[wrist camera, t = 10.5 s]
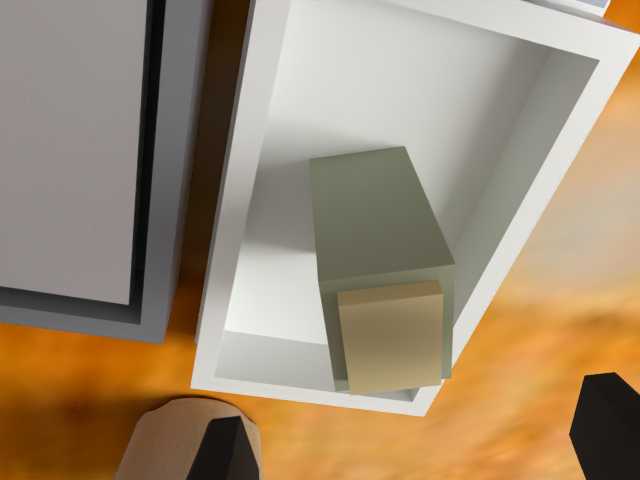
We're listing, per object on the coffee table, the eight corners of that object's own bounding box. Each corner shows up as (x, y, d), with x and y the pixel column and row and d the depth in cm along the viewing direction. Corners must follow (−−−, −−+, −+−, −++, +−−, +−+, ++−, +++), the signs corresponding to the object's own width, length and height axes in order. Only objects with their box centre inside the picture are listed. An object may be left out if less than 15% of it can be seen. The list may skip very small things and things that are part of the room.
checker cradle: (237, -177, 12) (220, -193, 10) (177, 289, 21) (158, 357, 18) (-202, -318, 11) (-386, -390, 8) (-77, 249, 19) (-144, 317, 16)
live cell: (404, 146, 17) (461, 278, 11) (407, 243, 19) (456, 392, 14) (309, 158, 17) (319, 295, 12) (323, 254, 20) (337, 407, 14)
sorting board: (770, -325, 11) (992, -417, 8) (412, 366, 24) (434, 452, 20) (337, -524, 10) (366, -764, 6) (195, 336, 22) (177, 424, 19)
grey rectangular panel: (162, -129, 11) (154, -129, 11) (134, 289, 18) (128, 305, 18) (-167, -227, 10) (-198, -234, 10) (-66, 259, 17) (-80, 274, 16)
